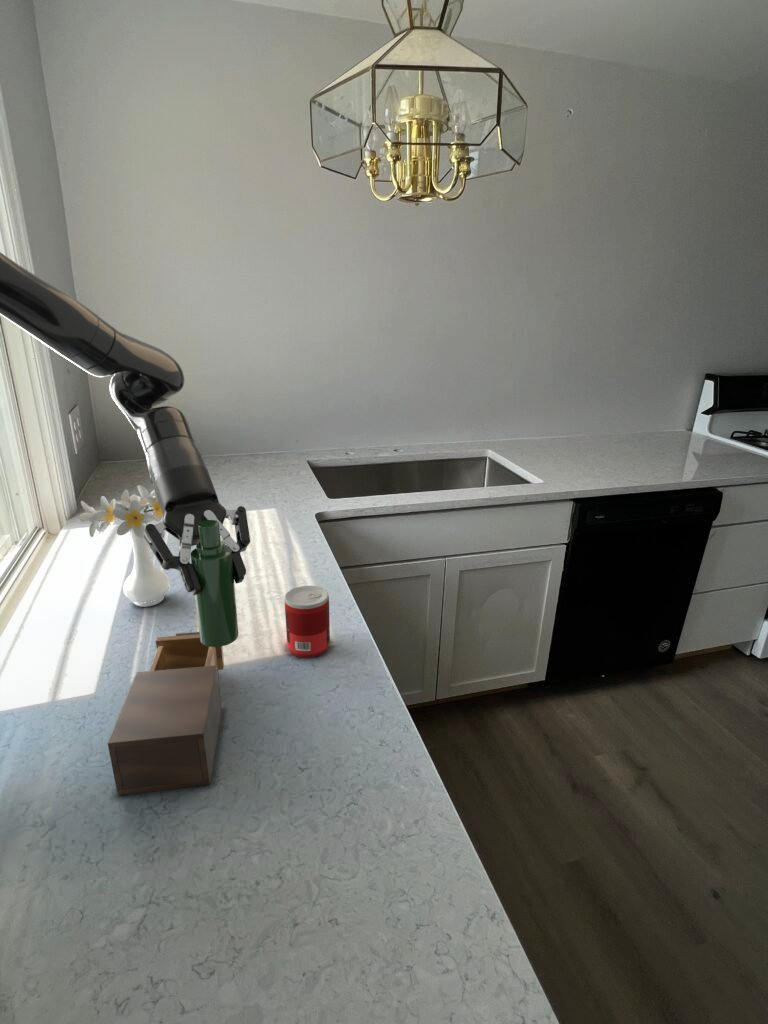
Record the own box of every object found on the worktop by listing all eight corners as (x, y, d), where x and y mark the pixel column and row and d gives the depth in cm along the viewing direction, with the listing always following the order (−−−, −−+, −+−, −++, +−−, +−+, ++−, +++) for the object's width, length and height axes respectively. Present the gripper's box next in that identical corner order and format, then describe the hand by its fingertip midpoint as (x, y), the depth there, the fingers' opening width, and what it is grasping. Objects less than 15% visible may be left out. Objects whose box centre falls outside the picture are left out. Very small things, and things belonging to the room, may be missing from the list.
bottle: (197, 648, 75) (184, 532, 69) (202, 627, 80) (190, 517, 74) (237, 645, 76) (227, 530, 70) (239, 625, 80) (230, 515, 74)
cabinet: (144, 718, 86) (136, 671, 83) (221, 710, 88) (216, 665, 85) (117, 795, 72) (107, 743, 69) (209, 784, 74) (203, 733, 71)
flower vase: (101, 594, 122) (80, 485, 113) (189, 581, 128) (176, 477, 119) (94, 624, 111) (71, 506, 102) (192, 608, 117) (178, 496, 108)
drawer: (166, 656, 99) (161, 624, 97) (226, 652, 101) (223, 619, 99) (143, 726, 83) (136, 688, 81) (215, 719, 85) (210, 682, 82)
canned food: (337, 649, 104) (336, 597, 100) (298, 664, 99) (296, 610, 95) (318, 630, 110) (316, 581, 106) (280, 643, 105) (277, 592, 101)
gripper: (128, 471, 71) (167, 592, 66) (235, 456, 79) (277, 562, 74) (124, 499, 77) (159, 611, 72) (224, 482, 85) (262, 582, 80)
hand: (219, 586), depth 73 cm, fingers closed on bottle, 5 cm apart
